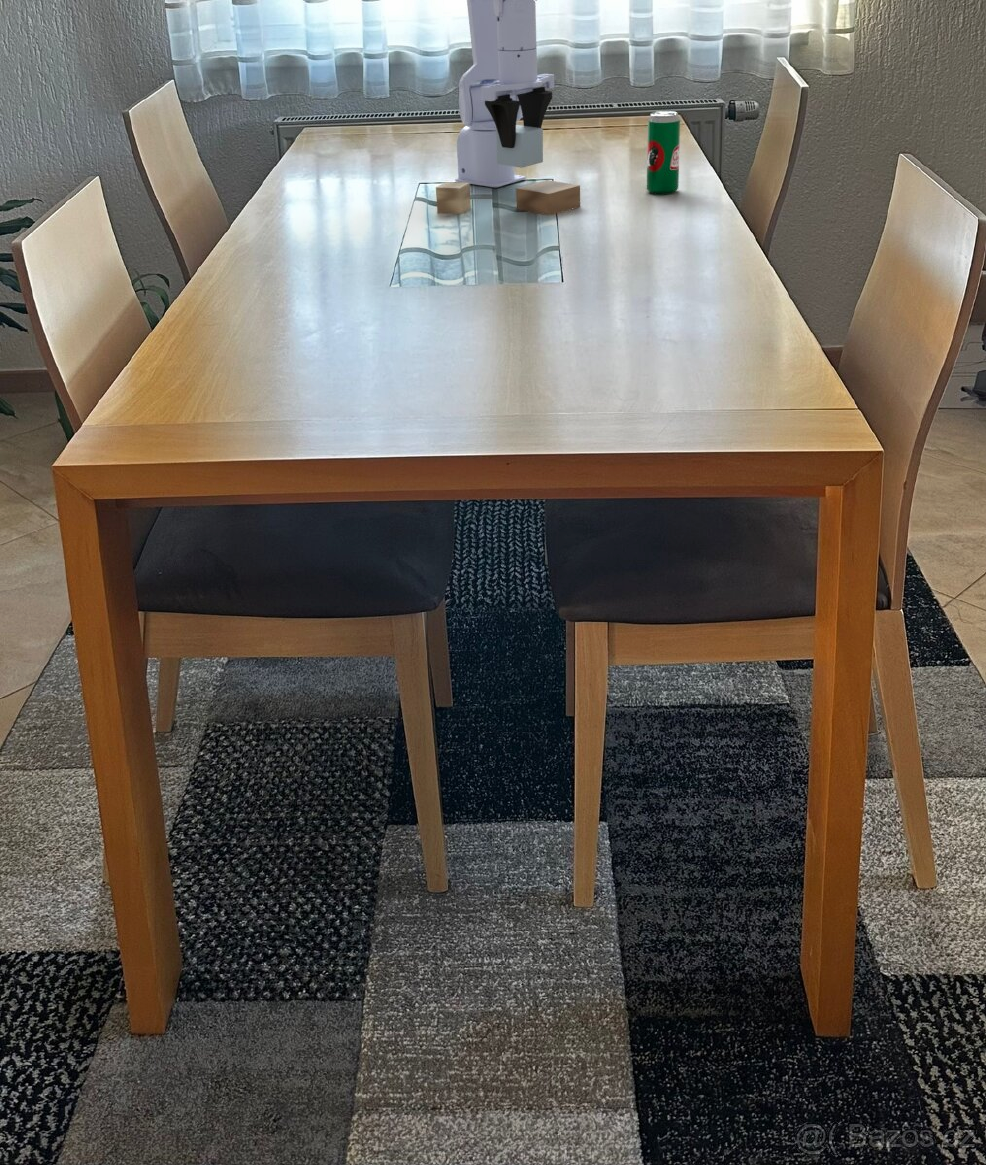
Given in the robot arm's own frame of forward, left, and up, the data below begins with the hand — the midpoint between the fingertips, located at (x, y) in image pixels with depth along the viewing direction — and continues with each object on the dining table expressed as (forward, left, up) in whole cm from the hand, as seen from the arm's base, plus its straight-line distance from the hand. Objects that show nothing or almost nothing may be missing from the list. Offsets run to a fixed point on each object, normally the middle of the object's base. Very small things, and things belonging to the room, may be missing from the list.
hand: (520, 144), depth 197 cm
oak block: (-8, -7, -10) cm, 14 cm away
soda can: (+13, +20, -10) cm, 26 cm away
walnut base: (+4, +2, -10) cm, 11 cm away
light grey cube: (0, 0, -3) cm, 3 cm away
